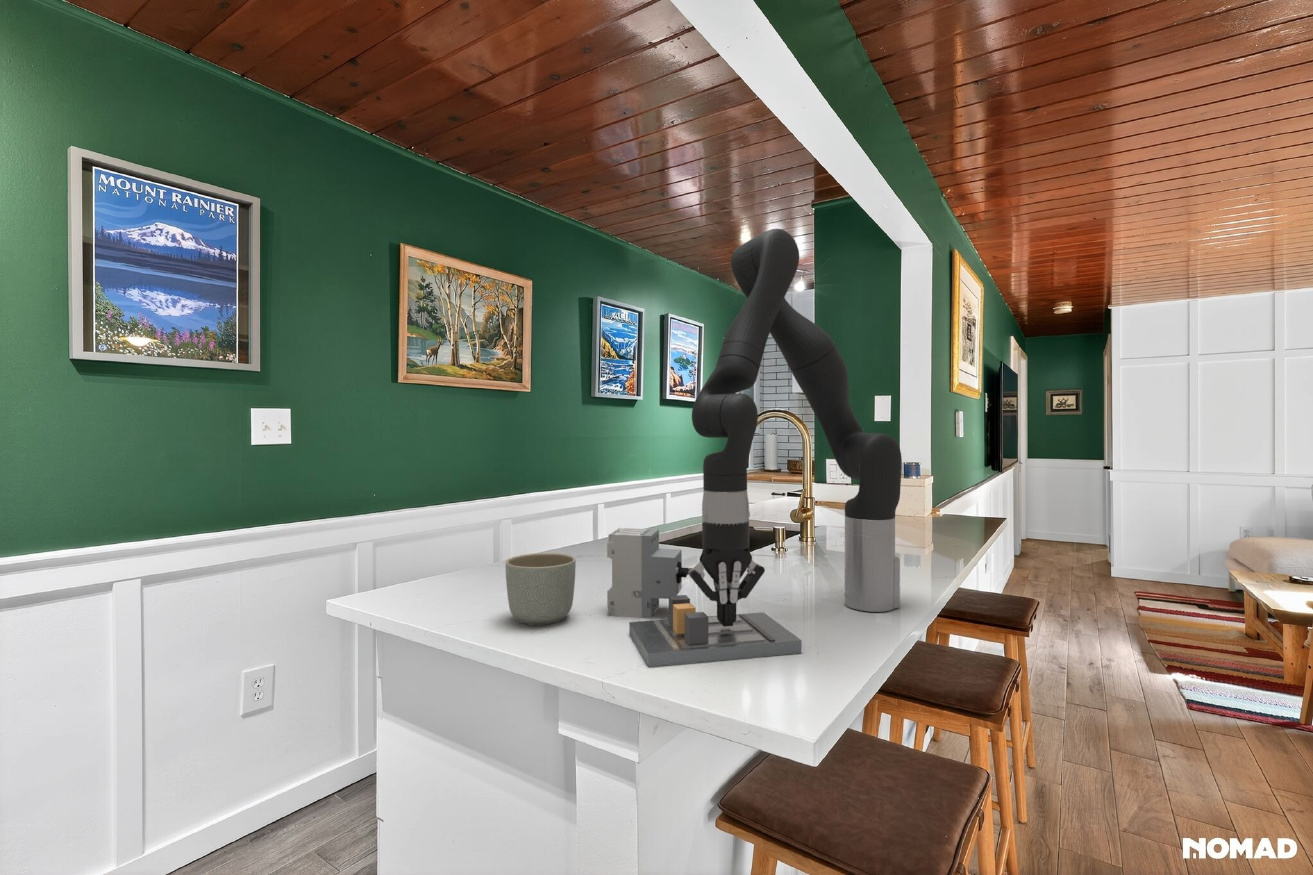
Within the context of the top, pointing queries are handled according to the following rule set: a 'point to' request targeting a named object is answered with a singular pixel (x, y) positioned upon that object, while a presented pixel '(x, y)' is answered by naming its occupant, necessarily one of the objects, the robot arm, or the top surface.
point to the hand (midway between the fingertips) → (726, 624)
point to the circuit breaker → (641, 572)
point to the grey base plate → (714, 641)
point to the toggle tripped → (681, 616)
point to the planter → (540, 587)
